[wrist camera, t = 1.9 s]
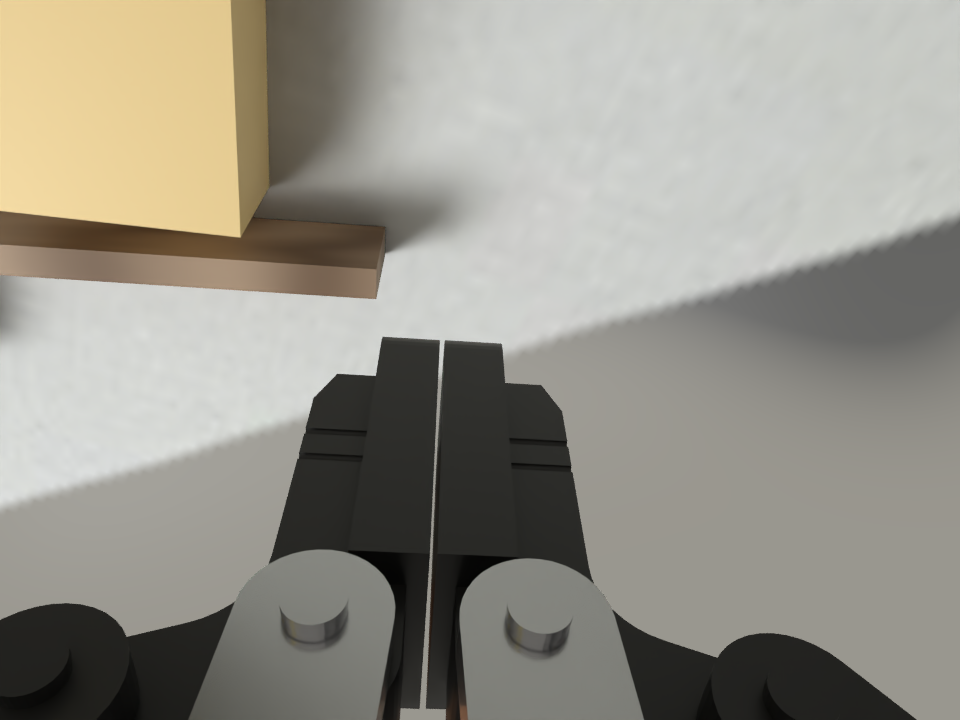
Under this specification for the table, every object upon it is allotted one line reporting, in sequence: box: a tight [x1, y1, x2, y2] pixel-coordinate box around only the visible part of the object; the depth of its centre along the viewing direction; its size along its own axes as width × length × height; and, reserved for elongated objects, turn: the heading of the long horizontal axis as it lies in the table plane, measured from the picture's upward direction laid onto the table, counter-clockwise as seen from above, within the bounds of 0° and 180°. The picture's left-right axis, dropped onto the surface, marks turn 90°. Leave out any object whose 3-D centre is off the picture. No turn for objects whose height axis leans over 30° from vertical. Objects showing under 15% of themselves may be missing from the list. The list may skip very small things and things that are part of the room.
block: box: [0, 0, 269, 238], centre depth 21 cm, size 7×7×4 cm
